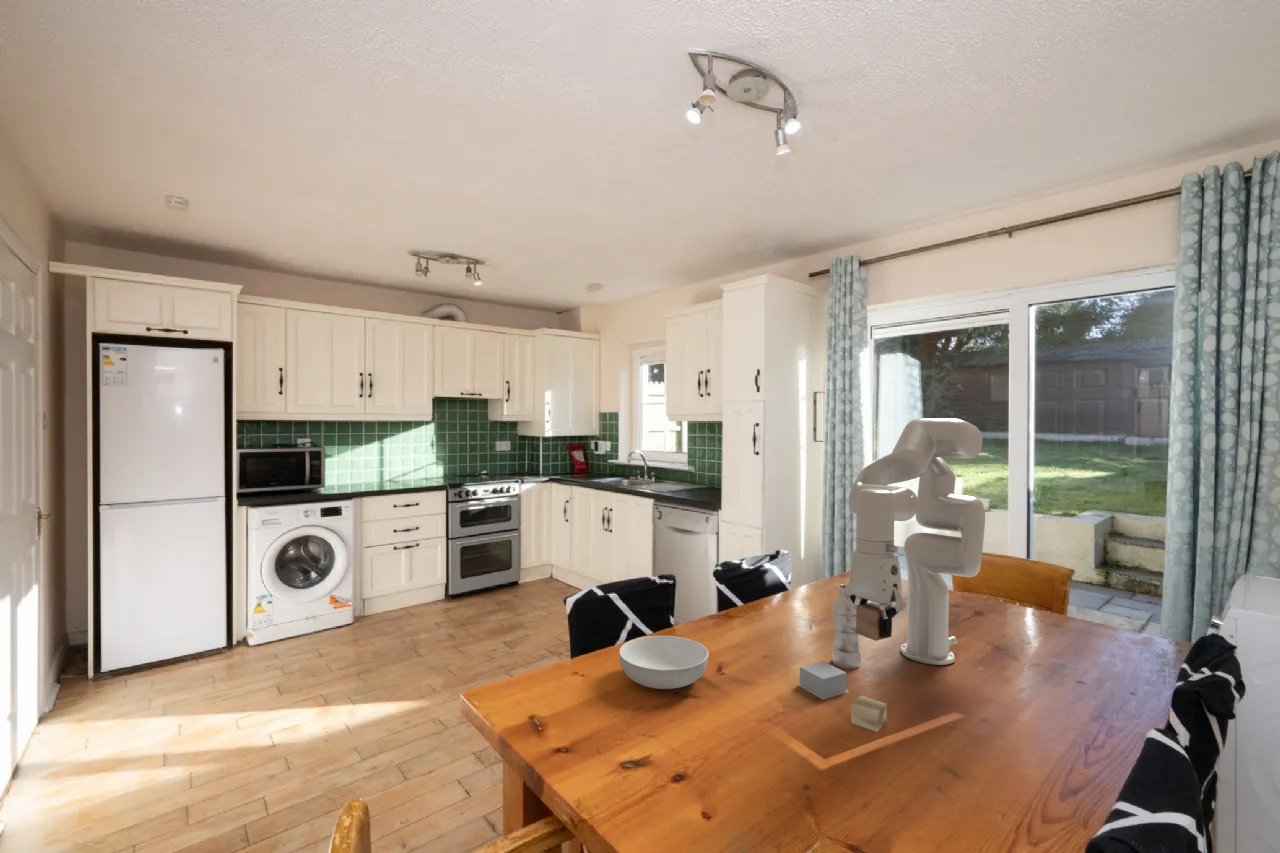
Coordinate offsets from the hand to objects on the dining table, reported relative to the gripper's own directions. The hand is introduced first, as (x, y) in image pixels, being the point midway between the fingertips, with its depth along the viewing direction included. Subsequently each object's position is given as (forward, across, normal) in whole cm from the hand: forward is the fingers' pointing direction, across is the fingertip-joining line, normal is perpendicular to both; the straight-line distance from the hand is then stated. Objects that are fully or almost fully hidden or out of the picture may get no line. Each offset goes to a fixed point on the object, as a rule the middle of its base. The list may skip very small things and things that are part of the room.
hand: (873, 631), depth 124 cm
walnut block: (+1, 0, 0) cm, 1 cm away
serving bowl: (+16, +32, +33) cm, 48 cm away
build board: (+16, +8, +6) cm, 19 cm away
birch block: (+16, -6, +9) cm, 19 cm away
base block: (+14, +8, +6) cm, 18 cm away
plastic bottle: (+16, +15, -10) cm, 24 cm away
